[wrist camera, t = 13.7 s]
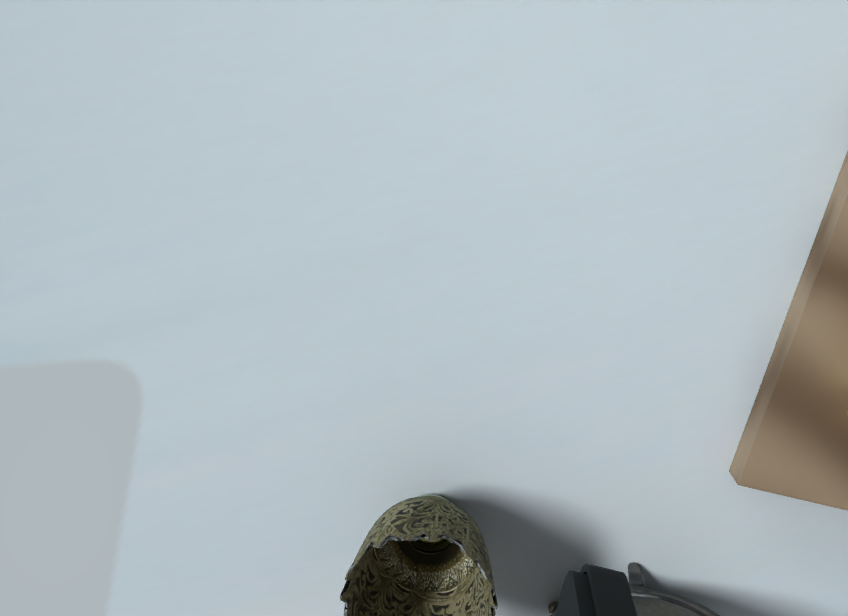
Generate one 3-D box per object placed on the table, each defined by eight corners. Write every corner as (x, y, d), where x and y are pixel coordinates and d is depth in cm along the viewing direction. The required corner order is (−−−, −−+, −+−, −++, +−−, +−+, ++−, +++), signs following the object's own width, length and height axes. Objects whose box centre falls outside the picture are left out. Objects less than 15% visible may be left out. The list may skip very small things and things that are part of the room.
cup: (521, 499, 42) (527, 589, 34) (456, 593, 44) (449, 699, 36) (404, 436, 41) (384, 513, 34) (345, 535, 43) (314, 629, 36)
